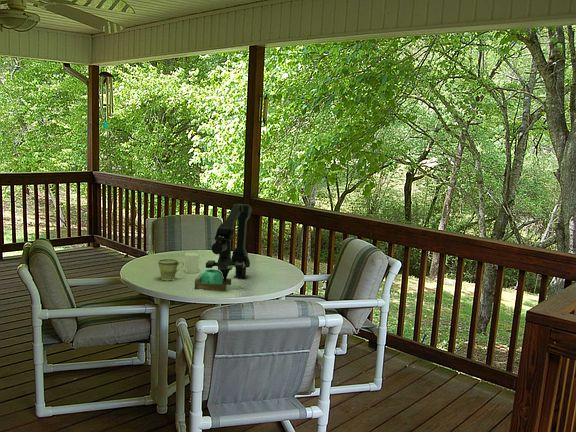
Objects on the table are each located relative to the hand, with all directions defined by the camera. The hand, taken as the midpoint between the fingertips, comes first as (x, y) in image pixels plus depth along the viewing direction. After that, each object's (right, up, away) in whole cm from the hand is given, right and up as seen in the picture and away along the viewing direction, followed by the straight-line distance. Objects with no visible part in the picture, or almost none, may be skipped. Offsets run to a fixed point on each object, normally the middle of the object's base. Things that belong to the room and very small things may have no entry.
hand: (225, 281), depth 277 cm
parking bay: (-6, -3, +1) cm, 7 cm away
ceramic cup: (-29, 0, +11) cm, 31 cm away
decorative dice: (-7, -3, +1) cm, 7 cm away
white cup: (-22, +2, +29) cm, 36 cm away
